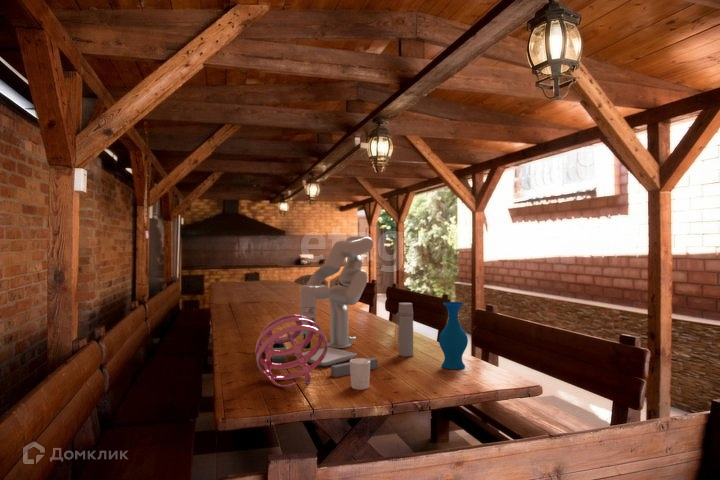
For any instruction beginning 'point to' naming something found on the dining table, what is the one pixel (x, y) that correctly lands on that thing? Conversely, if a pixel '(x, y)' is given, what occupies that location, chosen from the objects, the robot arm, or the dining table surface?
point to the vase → (453, 339)
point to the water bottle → (405, 329)
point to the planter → (279, 347)
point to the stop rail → (345, 368)
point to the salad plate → (331, 356)
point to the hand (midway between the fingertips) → (306, 348)
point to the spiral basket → (295, 348)
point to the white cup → (360, 373)
